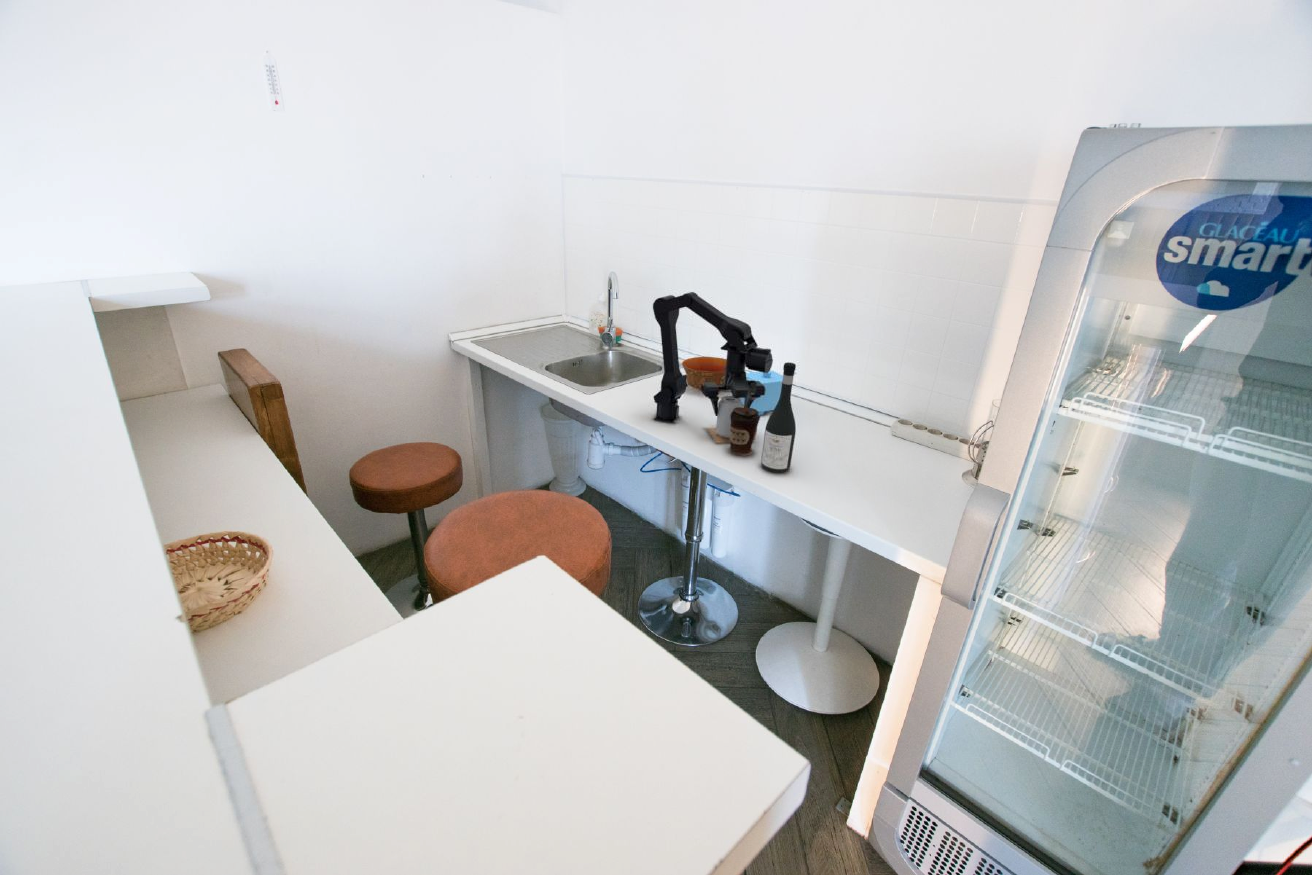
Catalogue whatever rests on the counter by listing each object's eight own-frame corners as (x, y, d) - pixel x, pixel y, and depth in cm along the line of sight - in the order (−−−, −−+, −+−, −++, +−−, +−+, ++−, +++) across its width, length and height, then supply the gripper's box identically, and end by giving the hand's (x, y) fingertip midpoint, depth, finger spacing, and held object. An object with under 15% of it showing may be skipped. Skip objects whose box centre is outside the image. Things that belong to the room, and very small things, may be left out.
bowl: (672, 381, 225) (674, 356, 221) (723, 378, 231) (725, 354, 227) (691, 400, 207) (693, 373, 203) (745, 396, 213) (748, 370, 209)
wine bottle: (785, 476, 156) (801, 370, 143) (757, 469, 159) (770, 365, 147) (792, 465, 162) (808, 362, 150) (765, 458, 165) (779, 357, 153)
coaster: (716, 443, 173) (716, 442, 173) (706, 429, 183) (706, 428, 183) (750, 441, 176) (750, 441, 176) (739, 427, 185) (739, 427, 185)
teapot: (748, 417, 193) (753, 378, 188) (731, 406, 203) (735, 368, 197) (801, 410, 202) (807, 372, 197) (782, 399, 211) (787, 363, 206)
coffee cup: (745, 460, 163) (750, 418, 158) (720, 452, 168) (724, 410, 163) (760, 451, 170) (765, 410, 165) (735, 443, 174) (740, 402, 169)
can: (737, 430, 183) (741, 394, 178) (741, 439, 176) (745, 403, 171) (714, 429, 183) (717, 393, 178) (717, 439, 176) (720, 402, 171)
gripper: (713, 375, 161) (708, 426, 168) (775, 374, 165) (768, 424, 171) (702, 363, 171) (698, 412, 177) (761, 362, 175) (755, 410, 181)
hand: (730, 415), depth 177 cm, fingers open, 9 cm apart
